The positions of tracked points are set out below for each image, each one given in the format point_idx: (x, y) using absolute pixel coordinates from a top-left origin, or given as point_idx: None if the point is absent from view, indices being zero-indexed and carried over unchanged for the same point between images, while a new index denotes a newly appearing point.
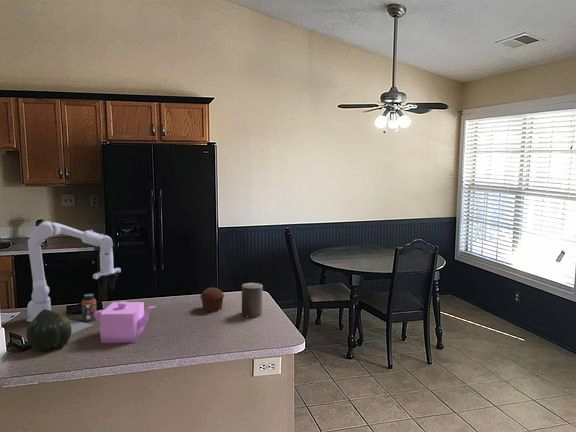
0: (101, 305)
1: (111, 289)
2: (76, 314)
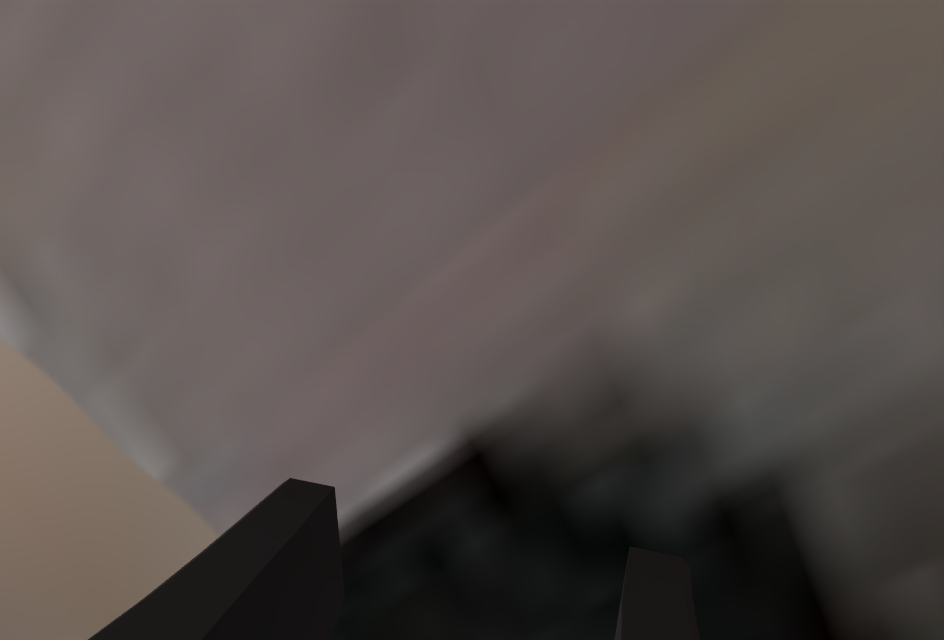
0: (379, 527)
1: (337, 532)
2: (895, 632)
